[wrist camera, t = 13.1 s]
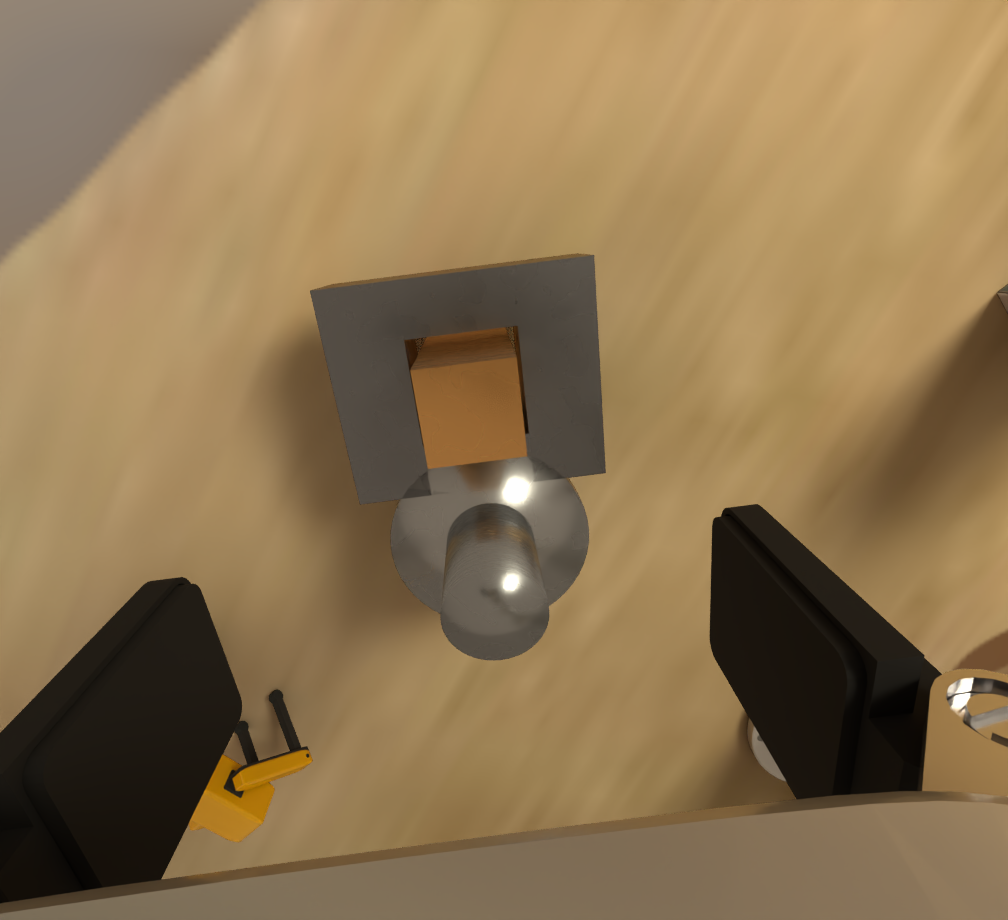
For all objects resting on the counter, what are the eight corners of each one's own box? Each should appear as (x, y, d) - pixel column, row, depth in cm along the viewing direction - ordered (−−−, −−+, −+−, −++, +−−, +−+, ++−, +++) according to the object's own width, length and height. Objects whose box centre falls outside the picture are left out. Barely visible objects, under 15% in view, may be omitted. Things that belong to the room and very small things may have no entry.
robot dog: (112, 571, 37) (-74, 740, 24) (327, 714, 42) (266, 914, 29) (64, 623, 38) (-136, 810, 25) (280, 756, 43) (201, 964, 31)
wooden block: (509, 385, 33) (527, 456, 22) (442, 393, 33) (428, 469, 22) (501, 317, 32) (516, 357, 21) (431, 326, 32) (410, 370, 21)
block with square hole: (564, 252, 31) (631, 259, 18) (585, 536, 37) (644, 692, 24) (349, 279, 31) (258, 305, 18) (407, 559, 37) (372, 728, 24)
